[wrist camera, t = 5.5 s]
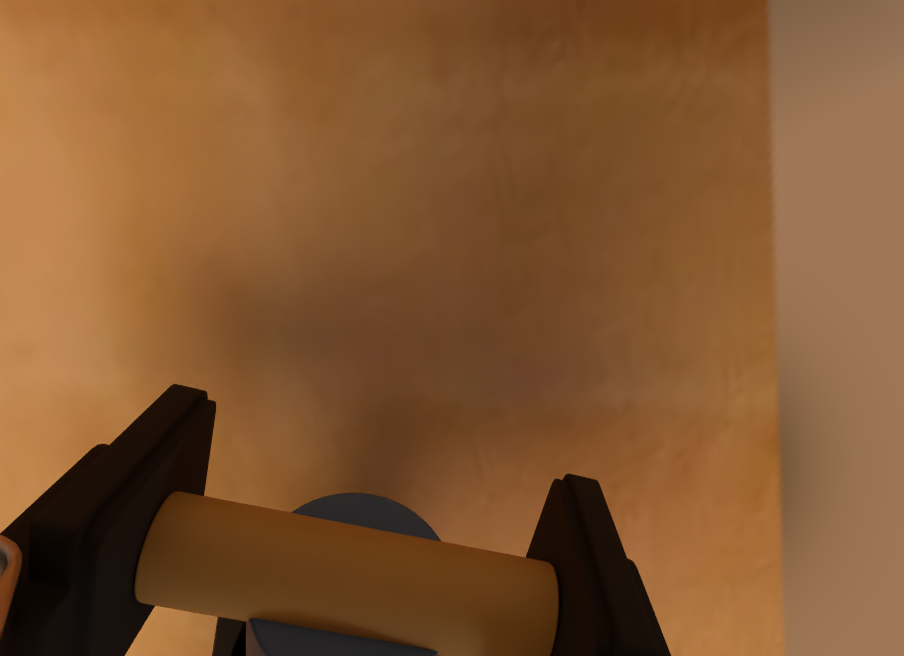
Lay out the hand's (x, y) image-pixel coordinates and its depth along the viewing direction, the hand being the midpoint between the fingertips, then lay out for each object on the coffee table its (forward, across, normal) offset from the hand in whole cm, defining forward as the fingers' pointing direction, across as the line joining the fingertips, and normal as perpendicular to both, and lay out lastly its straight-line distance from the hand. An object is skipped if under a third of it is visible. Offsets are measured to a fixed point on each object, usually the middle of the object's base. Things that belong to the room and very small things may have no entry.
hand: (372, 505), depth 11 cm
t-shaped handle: (+2, 0, +4) cm, 5 cm away
